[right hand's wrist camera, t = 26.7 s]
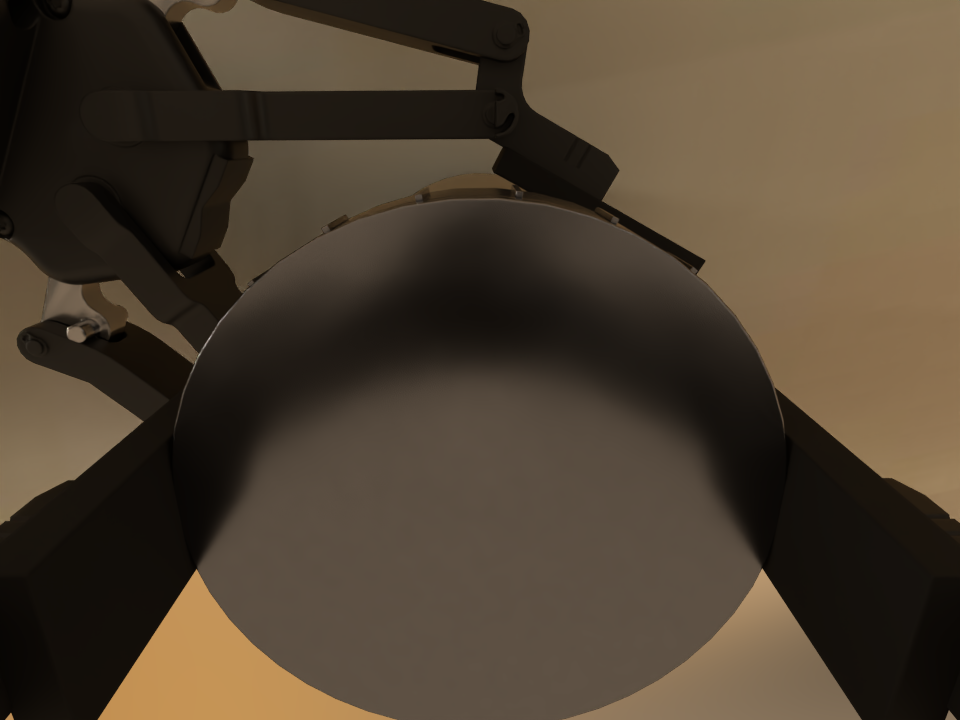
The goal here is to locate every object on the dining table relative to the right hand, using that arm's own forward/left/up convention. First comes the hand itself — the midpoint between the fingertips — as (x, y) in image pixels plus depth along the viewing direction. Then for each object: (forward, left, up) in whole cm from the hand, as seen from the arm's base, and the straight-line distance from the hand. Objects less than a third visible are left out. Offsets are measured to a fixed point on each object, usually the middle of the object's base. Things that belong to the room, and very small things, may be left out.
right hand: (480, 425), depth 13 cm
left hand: (-4, +2, -6) cm, 8 cm away
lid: (0, 0, +3) cm, 3 cm away
